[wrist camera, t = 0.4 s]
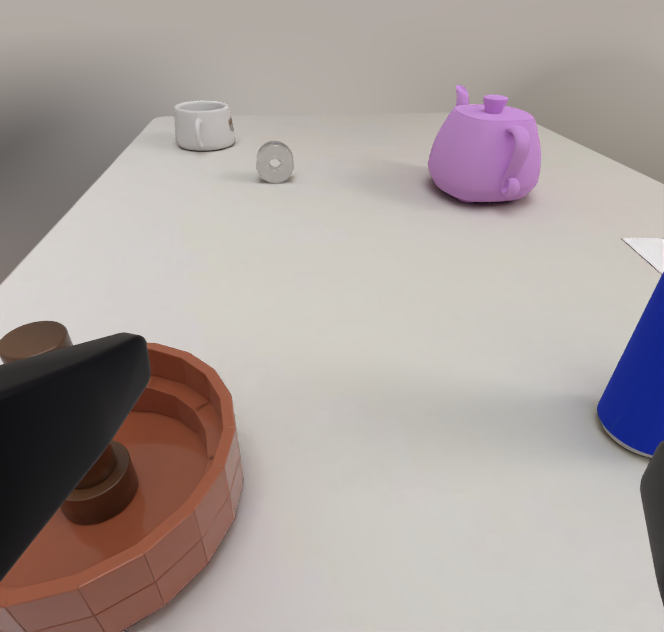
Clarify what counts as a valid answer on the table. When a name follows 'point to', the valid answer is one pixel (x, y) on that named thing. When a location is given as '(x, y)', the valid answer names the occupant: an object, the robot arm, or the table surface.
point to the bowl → (140, 513)
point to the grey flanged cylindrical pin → (115, 462)
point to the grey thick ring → (280, 153)
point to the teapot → (486, 151)
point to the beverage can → (639, 384)
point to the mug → (203, 125)
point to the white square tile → (649, 250)
